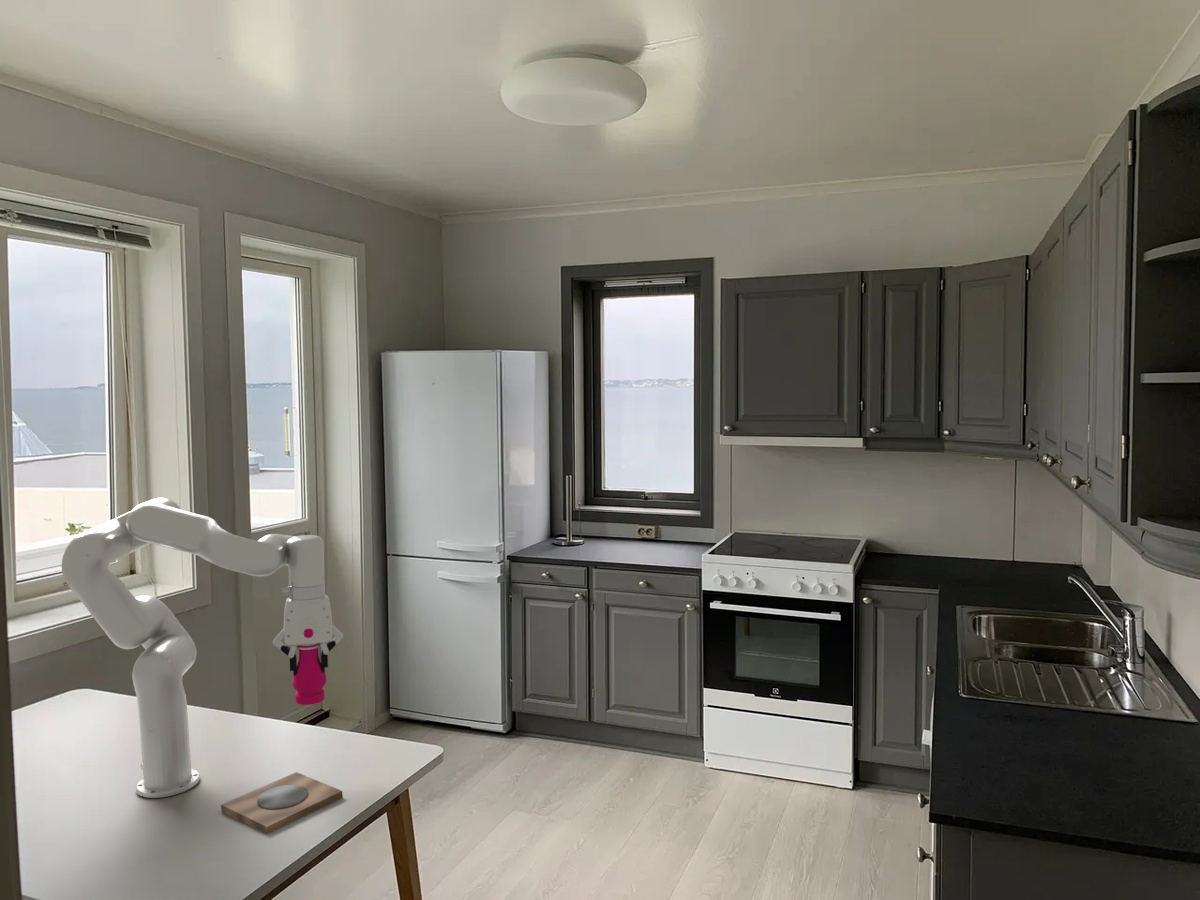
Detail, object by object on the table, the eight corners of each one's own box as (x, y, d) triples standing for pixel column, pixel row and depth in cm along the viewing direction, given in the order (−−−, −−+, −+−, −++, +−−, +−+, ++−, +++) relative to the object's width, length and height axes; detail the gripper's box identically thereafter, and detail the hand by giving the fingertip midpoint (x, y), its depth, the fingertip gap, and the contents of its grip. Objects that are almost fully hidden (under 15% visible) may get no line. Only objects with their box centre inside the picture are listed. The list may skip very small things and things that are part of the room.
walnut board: (221, 811, 186) (221, 802, 185) (296, 778, 200) (296, 770, 200) (267, 834, 176) (266, 824, 176) (342, 797, 191) (342, 789, 190)
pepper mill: (316, 707, 196) (314, 617, 194) (286, 704, 197) (283, 615, 196) (332, 695, 203) (330, 608, 201) (303, 693, 204) (300, 606, 203)
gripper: (265, 599, 192) (267, 682, 193) (348, 592, 197) (350, 673, 199) (265, 590, 199) (268, 671, 200) (346, 585, 204) (347, 662, 206)
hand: (309, 671), depth 200 cm, fingers closed on pepper mill, 5 cm apart
